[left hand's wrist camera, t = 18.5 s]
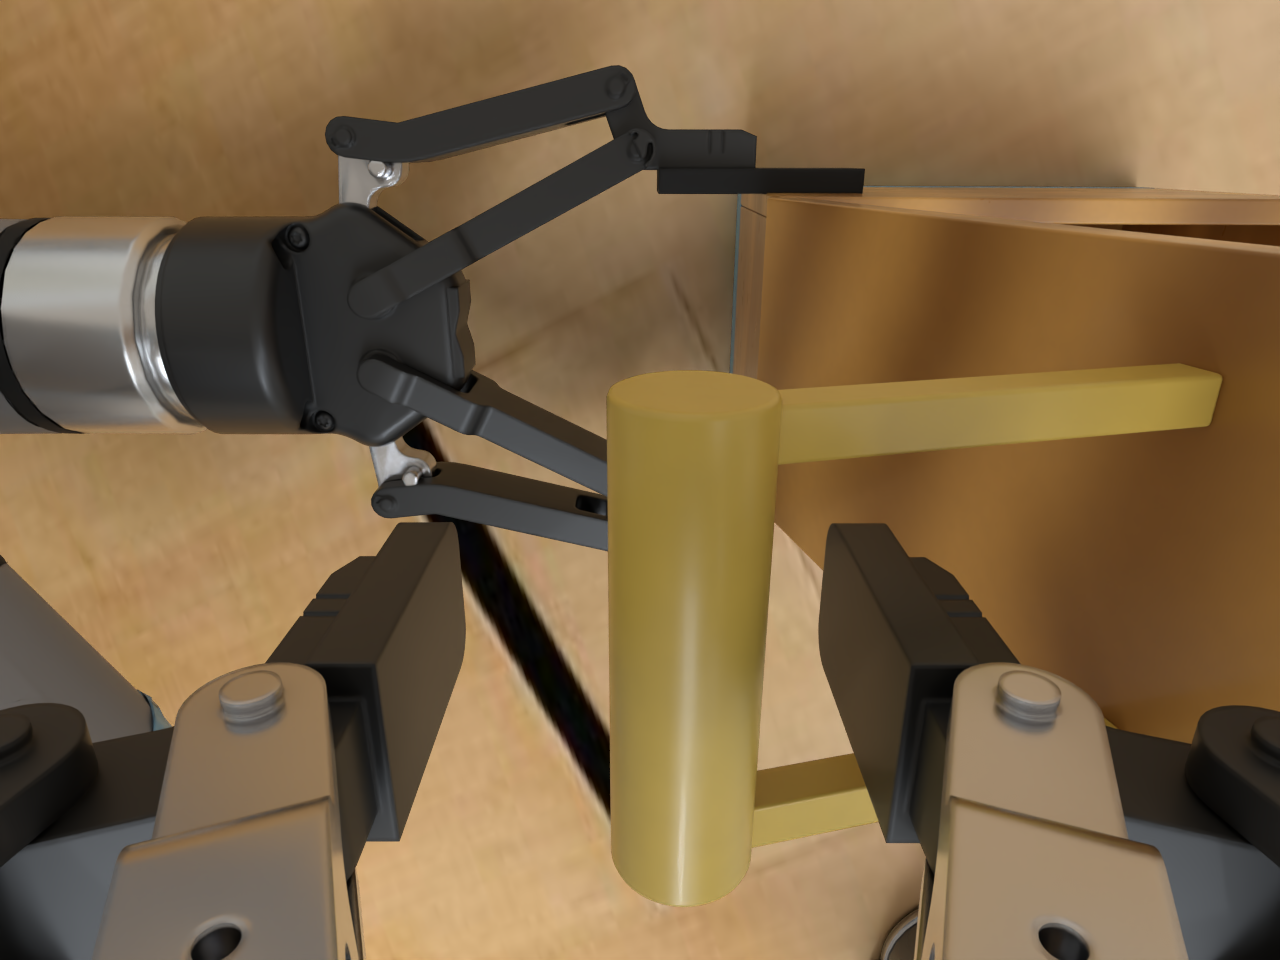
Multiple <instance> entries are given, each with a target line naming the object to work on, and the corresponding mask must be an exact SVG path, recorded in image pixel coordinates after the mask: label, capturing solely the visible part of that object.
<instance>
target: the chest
mask: <svg viewBox="0 0 1280 960" xmlns="http://www.w3.org/2000/svg"><path fill="white" fill-rule="evenodd" d="M770 197H797V198H807V199H817V200H827V201H837V202H846V203H856V204H866V205H876V206H886V207H896V208H905V209H915V210H925V211H935V212H945V213H955V214H964V215H974V216H984V217H994V218H1004V219H1014V220H1023V221H1033V222H1043V223H1053V224H1063V225H1073V226H1083V227H1092V228H1102V229H1112V230H1122V231H1132V232H1142V233H1151V234H1161V235H1171V236H1181V237H1191V238H1201V239H1210V240H1220V241H1230V242H1240V243H1250V244H1260V245H1269V246H1279V247H1280V196H1278V195H1260V194H1243V193H1225V192H1208V191H1190V190H1172V189H1155V188H1144V187H997V186H863V193H767V194H738V199H737V221H736V243H735V265H734V288H733V310H732V332H731V354H730V373H731V374H737V375H742V376H747V377H751V378H754V379H757V372H758V354H759V337H760V319H761V302H762V285H763V267H764V250H765V232H766V215H767V199H768V198H770Z"/></svg>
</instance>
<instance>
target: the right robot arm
mask: <svg viewBox="0 0 1280 960" xmlns="http://www.w3.org/2000/svg"><path fill="white" fill-rule="evenodd" d="M605 116H606V118H607V121H608V123H609V126H610V129H611V132H612V135H613V138H614V140H612V141H611V142H609V143H607V144H605V145H603V146H602V147H600V148H598V149H596V150H594V151H593V152H591V153H589V154H587V155H586V156H584V157H582V158H580V159H578V160H577V161H575V162H573V163H571V164H569V165H568V166H566V167H564V168H562V169H561V170H559V171H557V172H555V173H553V174H552V175H550V176H548V177H546V178H544V179H543V180H541V181H539V182H537V183H536V184H534V185H532V186H530V187H528V188H527V189H525V190H523V191H521V192H519V193H518V194H516V195H514V196H512V197H511V198H509V199H507V200H505V201H503V202H502V203H500V204H498V205H496V206H494V207H493V208H491V209H489V210H487V211H486V212H484V213H482V214H480V215H478V216H477V217H475V218H473V219H471V220H469V221H468V222H466V223H464V224H462V225H460V226H459V227H457V228H455V229H453V230H451V231H449V232H447V233H445V234H443V235H442V236H440V237H438V238H436V239H434V240H433V241H431V242H428V241H426V240H425V239H423V238H422V237H421V236H419V235H418V234H416V233H415V232H414V231H412V230H411V229H409V228H408V227H406V226H405V225H404V224H402V223H401V222H399V221H398V220H397V219H395V218H394V217H392V216H391V215H389V214H388V213H387V212H385V211H384V210H382V209H381V208H379V207H378V206H377V200H378V197H379V195H380V193H381V192H382V191H383V190H384V189H386V188H388V187H393V186H399V185H400V184H402V183H403V182H404V181H405V180H406V179H407V177H408V174H409V163H418V162H431V161H436V160H441V159H445V158H449V157H453V156H457V155H460V154H464V153H468V152H472V151H476V150H479V149H483V148H487V147H491V146H495V145H498V144H502V143H506V142H510V141H514V140H518V139H521V138H525V137H529V136H533V135H537V134H540V133H544V132H548V131H552V130H556V129H559V128H563V127H567V126H571V125H575V124H578V123H582V122H586V121H590V120H594V119H597V118H601V117H605ZM325 137H326V142H327V144H328V146H329V147H330V149H331V150H332V151H333V152H334V153H335V154H337V155H338V163H339V204H337V205H335V206H333V207H331V208H330V209H328V210H327V211H325V212H323V213H322V214H319V215H317V216H311V217H199V218H195V219H193V220H191V221H189V222H188V223H187V222H184V221H182V220H180V219H178V218H175V217H53V218H33V219H0V434H31V433H76V434H83V433H115V434H197V433H199V432H202V431H204V430H207V429H209V430H211V431H213V432H215V433H220V434H324V433H334V434H340V435H343V436H347V437H349V438H352V439H354V440H356V441H358V442H360V443H362V444H364V445H367V446H369V448H370V452H371V456H372V460H373V464H374V468H375V472H376V477H377V481H378V485H379V487H378V489H377V490H376V491H375V493H374V494H373V496H372V499H371V505H372V507H373V509H374V511H375V512H376V513H377V514H378V515H380V516H382V517H384V518H398V517H408V516H418V515H427V514H439V515H444V516H449V517H453V518H458V519H462V520H467V521H471V522H476V523H481V524H485V525H490V526H494V527H499V528H504V529H508V530H513V531H517V532H522V533H527V534H531V535H536V536H540V537H545V538H550V539H554V540H559V541H563V542H568V543H572V544H577V545H582V546H586V547H591V548H595V549H600V550H605V551H608V499H607V440H606V439H604V438H602V437H600V436H598V435H596V434H593V433H591V432H589V431H587V430H585V429H583V428H581V427H579V426H577V425H575V424H573V423H571V422H569V421H567V420H565V419H563V418H561V417H559V416H557V415H554V414H552V413H550V412H548V411H546V410H544V409H542V408H540V407H538V406H536V405H534V404H532V403H530V402H528V401H526V400H524V399H522V398H520V397H518V396H515V395H513V394H511V393H509V392H507V391H505V390H503V389H502V388H500V387H499V386H498V384H497V383H496V382H494V381H493V380H491V379H489V378H488V377H485V376H483V375H481V374H479V373H477V372H475V371H473V370H472V368H473V367H474V366H475V365H476V364H475V350H474V343H473V340H472V337H471V334H470V331H469V328H468V325H467V319H468V314H469V309H470V304H471V295H470V281H469V280H465V277H464V275H463V273H462V271H461V270H462V269H463V268H465V267H467V266H469V265H471V264H472V263H474V262H476V261H478V260H479V259H481V258H483V257H485V256H487V255H488V254H490V253H492V252H494V251H496V250H498V249H499V248H501V247H503V246H505V245H507V244H509V243H510V242H512V241H514V240H516V239H518V238H519V237H521V236H523V235H525V234H527V233H529V232H530V231H532V230H534V229H536V228H538V227H539V226H541V225H543V224H545V223H547V222H549V221H550V220H552V219H554V218H556V217H558V216H559V215H561V214H563V213H565V212H567V211H569V210H570V209H572V208H574V207H576V206H578V205H580V204H581V203H583V202H585V201H587V200H589V199H590V198H592V197H594V196H596V195H598V194H600V193H601V192H603V191H605V190H607V189H609V188H610V187H612V186H614V185H616V184H618V183H620V182H621V181H623V180H625V179H627V178H629V177H630V176H632V175H634V174H636V173H638V172H640V171H641V170H657V192H658V193H659V194H767V193H863V184H864V173H865V169H857V168H755V163H756V142H757V136H755V135H752V134H750V133H748V132H746V131H743V130H668V129H662V128H659V127H657V126H655V125H654V124H653V123H652V122H651V121H650V120H649V119H648V117H647V115H646V113H645V111H644V108H643V104H642V101H641V98H640V95H639V92H638V89H637V86H636V83H635V80H634V78H633V75H632V74H631V73H630V72H629V70H628V69H627V68H624V67H622V66H619V65H617V66H609V67H605V68H601V69H597V70H594V71H590V72H586V73H582V74H579V75H575V76H571V77H568V78H564V79H560V80H556V81H553V82H549V83H545V84H541V85H538V86H534V87H530V88H526V89H523V90H519V91H515V92H512V93H508V94H504V95H500V96H497V97H493V98H489V99H485V100H482V101H478V102H474V103H470V104H467V105H463V106H459V107H456V108H452V109H448V110H444V111H441V112H437V113H433V114H429V115H426V116H422V117H418V118H414V119H411V120H407V121H403V122H399V123H395V122H387V121H379V120H371V119H363V118H354V117H346V116H341V117H336V118H334V119H332V120H331V121H330V122H329V124H328V125H327V127H326V132H325ZM427 417H428V418H430V419H432V420H434V421H436V422H438V423H441V424H443V425H445V426H447V427H449V428H451V429H453V430H455V431H457V432H460V433H462V434H466V435H477V436H480V437H482V438H484V439H486V440H488V441H491V442H493V443H495V444H497V445H499V446H501V447H503V448H505V449H507V450H509V451H512V452H514V453H516V454H518V455H520V456H522V457H524V458H526V459H528V460H531V461H533V462H535V463H537V464H539V465H541V466H543V467H545V468H547V469H550V470H552V471H554V472H556V473H558V474H560V475H562V476H564V477H566V478H569V479H571V480H573V481H575V482H577V483H579V484H581V485H583V486H585V487H587V488H590V489H592V490H594V491H596V492H598V493H600V494H596V493H592V492H587V491H583V490H578V489H574V488H569V487H565V486H560V485H556V484H551V483H547V482H542V481H538V480H533V479H529V478H525V477H520V476H516V475H511V474H507V473H502V472H498V471H493V470H489V469H484V468H480V467H475V466H471V465H466V464H460V463H454V462H436V461H435V459H434V457H433V456H432V455H431V454H430V453H429V452H426V451H424V450H417V449H413V448H411V447H409V446H408V445H407V444H406V443H405V442H404V440H403V438H402V436H403V435H404V434H406V433H407V432H408V431H410V430H411V429H412V428H414V427H415V426H416V425H418V424H419V423H421V422H422V421H423V420H425V419H426V418H427ZM601 494H602V495H601ZM35 703H58V704H64V705H69V706H72V707H74V708H76V709H78V710H79V711H80V712H81V713H82V714H83V716H84V718H85V720H86V724H87V727H88V730H89V734H90V737H91V740H92V743H95V742H100V741H105V740H110V739H115V738H120V737H125V736H131V735H136V734H141V733H146V732H151V731H156V730H161V729H165V728H169V727H172V726H171V725H170V724H169V722H168V721H167V720H166V719H165V718H164V716H163V714H162V712H161V710H160V708H159V706H158V705H157V704H156V703H155V702H153V701H152V698H151V697H150V696H148V695H146V694H144V693H142V692H141V691H139V690H136V689H135V688H134V687H133V686H132V685H131V684H130V683H129V682H128V681H127V680H126V679H125V678H124V677H123V676H122V675H121V674H120V673H119V672H118V671H117V670H116V669H115V668H114V667H113V666H111V665H110V664H109V663H108V662H107V661H106V660H105V659H104V658H103V657H102V656H101V655H100V654H99V653H98V652H97V651H96V650H95V649H94V648H93V647H92V646H91V645H90V644H89V643H88V642H87V641H86V640H85V639H84V638H83V637H82V636H81V635H80V634H79V633H78V632H77V631H76V630H75V629H74V628H73V627H72V626H70V625H69V624H68V623H67V622H66V621H65V620H64V619H63V618H62V617H61V616H60V615H59V614H58V613H57V612H56V611H55V610H54V609H53V608H52V607H51V606H50V605H49V604H48V603H47V602H46V601H45V600H44V599H43V598H42V597H41V596H40V595H39V594H38V593H37V592H36V591H35V590H34V589H33V588H32V587H31V586H29V585H28V584H27V583H26V582H25V581H24V580H23V579H22V578H21V577H20V576H19V575H18V574H17V573H16V572H15V571H14V570H13V569H12V568H11V567H10V566H9V565H8V564H7V563H6V561H5V559H4V558H3V557H2V556H1V555H0V710H3V709H7V708H11V707H16V706H21V705H27V704H35Z"/></svg>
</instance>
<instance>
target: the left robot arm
mask: <svg viewBox="0 0 1280 960" xmlns="http://www.w3.org/2000/svg"><path fill="white" fill-rule="evenodd" d="M303 613H304V614H303V616H300V617H299V618H298V620H297V621H296V622H295V624H294V625H293V627H292V628H291V629H290V631H289V632H288V633H287V635H286V636H285V637H284V639H283V640H282V641H281V643H280V644H279V645H278V647H277V648H276V649H275V651H274V652H273V653H272V655H271V656H270V657H269V659H268V660H267V661H266V663H265V664H259V665H253V666H249V667H245V668H241V669H238V670H235V671H232V672H229V673H227V674H225V675H222V676H220V677H218V678H216V679H214V680H212V681H210V682H208V683H207V684H205V685H204V686H202V687H200V688H199V689H198V690H196V691H195V692H194V693H193V694H192V695H190V696H189V697H188V699H187V700H186V701H185V702H184V703H183V704H182V706H181V707H180V709H179V711H178V714H177V717H176V721H175V726H173V727H169V728H165V729H161V730H156V731H151V732H146V733H141V734H136V735H131V736H125V737H120V738H115V739H110V740H105V741H100V742H95V743H92V740H91V737H90V734H89V730H88V727H87V724H86V720H85V718H84V716H83V714H82V713H81V712H80V711H79V710H78V709H76V708H74V707H72V706H69V705H64V704H58V703H35V704H27V705H21V706H16V707H11V708H7V709H3V710H0V960H366V953H365V942H364V932H363V922H362V911H361V901H360V890H359V883H358V877H357V871H356V865H357V863H358V860H359V858H360V855H361V853H362V850H363V848H364V845H365V843H366V841H400V838H401V836H402V833H403V830H404V827H405V824H406V821H407V819H408V816H409V813H410V810H411V807H412V804H413V802H414V799H415V796H416V793H417V790H418V787H419V785H420V782H421V779H422V776H423V773H424V770H425V768H426V765H427V762H428V759H429V756H430V753H431V751H432V748H433V745H434V742H435V739H436V736H437V734H438V731H439V728H440V725H441V722H442V719H443V717H444V714H445V711H446V708H447V705H448V702H449V700H450V697H451V694H452V691H453V688H454V685H455V683H456V680H457V677H458V674H459V671H460V668H461V665H462V661H463V656H464V650H465V637H466V624H465V611H464V600H463V588H462V577H461V566H460V554H459V543H458V536H457V531H456V528H455V525H454V524H453V523H398V524H397V525H396V527H395V528H394V530H393V531H392V533H391V534H390V536H389V537H388V539H387V540H386V542H385V543H384V545H383V546H382V548H381V549H380V551H379V552H378V554H377V555H376V556H360V557H358V558H356V559H355V560H353V561H352V562H350V563H348V564H347V565H345V566H344V567H342V568H340V569H339V570H337V571H336V572H334V573H332V574H331V575H330V577H329V578H328V579H327V581H326V582H325V583H324V585H323V586H322V588H321V589H320V590H319V592H318V593H317V594H316V599H313V600H312V601H311V602H310V604H309V605H308V606H307V608H306V609H305V610H304V612H303ZM819 649H820V656H821V661H822V665H823V669H824V671H825V674H826V677H827V680H828V682H829V685H830V688H831V691H832V693H833V696H834V699H835V702H836V705H837V707H838V710H839V713H840V716H841V718H842V721H843V724H844V727H845V730H846V732H847V735H848V738H849V741H850V743H851V746H852V749H853V752H854V754H855V757H856V760H857V763H858V766H859V768H860V771H861V774H862V777H863V779H864V782H865V785H866V788H867V791H868V793H869V796H870V799H871V802H872V804H873V807H874V810H875V813H876V816H877V818H878V821H879V824H880V827H881V829H882V832H883V835H884V838H885V840H886V843H920V844H921V846H922V849H923V851H924V853H925V856H926V859H925V865H924V871H923V877H922V883H921V890H920V901H919V908H918V909H916V910H914V911H913V912H911V913H910V914H908V915H907V916H906V917H904V918H903V919H902V920H901V921H900V922H899V923H898V924H897V925H896V926H895V927H894V928H893V929H892V931H891V932H890V933H889V935H888V937H887V938H886V940H885V942H884V945H883V948H882V951H881V959H880V960H1280V712H1279V711H1275V710H1271V709H1266V708H1261V707H1254V706H1246V705H1229V706H1220V707H1216V708H1212V709H1210V710H1208V711H1206V712H1205V713H1204V714H1203V715H1202V716H1201V717H1200V719H1199V721H1198V724H1197V727H1196V730H1195V734H1194V737H1193V740H1192V744H1190V743H1185V742H1180V741H1175V740H1169V739H1164V738H1159V737H1154V736H1149V735H1144V734H1139V733H1134V732H1129V731H1124V730H1120V729H1116V728H1112V727H1109V726H1106V725H1105V721H1104V717H1103V714H1102V711H1101V709H1100V707H1099V706H1098V704H1097V703H1096V702H1095V701H1094V700H1093V699H1092V697H1091V696H1090V695H1088V694H1087V693H1086V692H1085V691H1084V690H1082V689H1081V688H1080V687H1078V686H1076V685H1075V684H1073V683H1072V682H1070V681H1068V680H1066V679H1064V678H1062V677H1060V676H1058V675H1055V674H1053V673H1051V672H1048V671H1045V670H1042V669H1039V668H1035V667H1031V666H1027V665H1021V664H1020V662H1019V661H1018V660H1017V658H1016V657H1015V656H1014V654H1013V653H1012V652H1011V650H1010V649H1009V648H1008V646H1007V645H1006V644H1005V642H1004V641H1003V640H1002V638H1001V637H1000V636H999V635H998V633H997V632H996V631H995V629H994V628H993V627H992V625H991V624H990V623H989V621H988V620H987V619H986V617H982V612H981V611H980V609H979V608H978V607H977V605H976V604H975V603H974V601H973V600H969V595H968V593H967V592H966V591H965V589H964V588H963V587H962V585H961V584H960V583H959V582H958V580H957V579H956V578H955V576H954V575H953V574H951V573H950V572H948V571H947V570H945V569H943V568H942V567H940V566H938V565H937V564H935V563H934V562H932V561H930V560H929V559H927V558H926V557H909V556H908V555H907V553H906V552H905V550H904V549H903V547H902V546H901V544H900V543H899V541H898V540H897V538H896V537H895V535H894V534H893V532H892V531H891V530H890V528H889V527H888V525H887V524H885V523H832V524H831V525H830V527H829V529H828V533H827V538H826V547H825V558H824V569H823V580H822V591H821V602H820V614H819Z"/></svg>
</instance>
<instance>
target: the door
mask: <svg viewBox="0 0 1280 960" xmlns="http://www.w3.org/2000/svg"><path fill="white" fill-rule="evenodd" d="M606 405H607V499H608V594H609V688H610V782H611V853H612V858H613V862H614V864H615V867H616V869H617V870H618V872H619V874H620V875H621V877H622V878H623V880H624V881H625V882H626V883H627V884H628V885H629V886H630V887H631V888H632V889H633V890H634V891H636V892H637V893H638V894H640V895H642V896H644V897H645V898H647V899H649V900H652V901H654V902H657V903H660V904H664V905H669V906H676V907H694V906H700V905H704V904H708V903H711V902H714V901H716V900H719V899H721V898H722V897H724V896H726V895H727V894H729V893H730V892H731V891H732V890H734V888H735V887H736V886H737V885H738V884H739V883H740V882H741V880H742V879H743V877H744V876H745V874H746V872H747V870H748V868H749V864H750V860H751V848H754V847H759V846H763V845H768V844H773V843H778V842H783V841H788V840H793V839H797V838H802V837H807V836H812V835H817V834H822V833H827V832H831V831H836V830H841V829H846V828H851V827H856V826H860V825H865V824H870V823H875V822H879V821H878V818H877V816H876V813H875V810H874V807H873V804H872V802H871V799H870V796H869V793H868V791H867V788H866V785H865V782H864V779H863V777H862V774H861V771H860V768H859V766H858V763H857V760H856V757H855V754H854V753H852V754H847V755H841V756H836V757H830V758H825V759H819V760H814V761H808V762H803V763H797V764H792V765H787V766H781V767H776V768H770V769H765V770H759V771H757V762H758V748H759V733H760V719H761V705H762V690H763V676H764V661H765V647H766V633H767V618H768V604H769V590H770V575H771V561H772V546H773V532H774V522H775V523H776V524H777V525H778V526H779V527H780V528H781V529H782V530H783V531H784V532H785V533H786V534H787V535H788V536H789V537H790V538H791V539H792V540H793V541H794V542H795V543H796V544H797V545H798V546H799V547H800V548H801V549H802V550H803V551H804V552H805V553H806V554H807V555H808V556H809V557H810V558H811V559H812V560H813V561H814V562H815V563H816V564H817V565H818V566H819V567H820V568H821V569H822V570H823V569H824V558H825V547H826V538H827V533H828V529H829V527H830V525H831V524H832V523H885V524H887V525H888V527H889V528H890V530H891V531H892V532H893V534H894V535H895V537H896V538H897V540H898V541H899V543H900V544H901V546H902V547H903V549H904V550H905V552H906V553H907V555H908V556H909V557H926V558H927V559H929V560H930V561H932V562H934V563H935V564H937V565H938V566H940V567H942V568H943V569H945V570H947V571H948V572H950V573H951V574H953V575H954V576H955V578H956V579H957V580H958V582H959V583H960V584H961V585H962V587H963V588H964V589H965V591H966V592H967V593H968V595H969V600H973V601H974V603H975V604H976V605H977V607H978V608H979V609H980V611H981V612H982V617H986V619H987V620H988V621H989V623H990V624H991V625H992V627H993V628H994V629H995V631H996V632H997V633H998V635H999V636H1000V637H1001V638H1002V640H1003V641H1004V642H1005V644H1006V645H1007V646H1008V648H1009V649H1010V650H1011V652H1012V653H1013V654H1014V656H1015V657H1016V658H1017V660H1018V661H1019V662H1020V664H1021V665H1027V666H1031V667H1035V668H1039V669H1042V670H1045V671H1048V672H1051V673H1053V674H1055V675H1058V676H1060V677H1062V678H1064V679H1066V680H1068V681H1070V682H1072V683H1073V684H1075V685H1076V686H1078V687H1080V688H1081V689H1082V690H1084V691H1085V692H1086V693H1087V694H1088V695H1090V696H1091V697H1092V699H1093V700H1094V701H1095V702H1096V703H1097V704H1098V706H1099V707H1100V709H1101V711H1102V714H1103V717H1104V721H1105V725H1106V726H1109V727H1112V728H1116V729H1120V730H1124V731H1129V732H1134V733H1139V734H1144V735H1149V736H1154V737H1159V738H1164V739H1169V740H1175V741H1180V742H1185V743H1190V744H1192V740H1193V737H1194V734H1195V730H1196V727H1197V724H1198V721H1199V719H1200V717H1201V716H1202V715H1203V714H1204V713H1205V712H1206V711H1208V710H1210V709H1212V708H1216V707H1220V706H1229V705H1246V706H1254V707H1261V708H1266V709H1271V710H1275V711H1279V712H1280V247H1279V246H1269V245H1260V244H1250V243H1240V242H1230V241H1220V240H1210V239H1201V238H1191V237H1181V236H1171V235H1161V234H1151V233H1142V232H1132V231H1122V230H1112V229H1102V228H1092V227H1083V226H1073V225H1063V224H1053V223H1043V222H1033V221H1023V220H1014V219H1004V218H994V217H984V216H974V215H964V214H955V213H945V212H935V211H925V210H915V209H905V208H896V207H886V206H876V205H866V204H856V203H846V202H837V201H827V200H817V199H807V198H797V197H770V198H768V199H767V215H766V232H765V250H764V267H763V285H762V302H761V319H760V337H759V354H758V372H757V379H754V378H751V377H747V376H742V375H737V374H731V373H724V372H715V371H698V370H679V371H663V372H654V373H647V374H642V375H638V376H634V377H630V378H627V379H625V380H622V381H620V382H617V383H616V384H614V385H613V386H612V387H611V388H610V390H609V392H608V394H607V397H606Z"/></svg>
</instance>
